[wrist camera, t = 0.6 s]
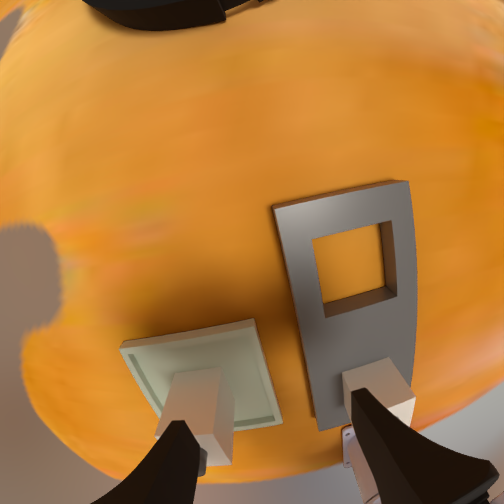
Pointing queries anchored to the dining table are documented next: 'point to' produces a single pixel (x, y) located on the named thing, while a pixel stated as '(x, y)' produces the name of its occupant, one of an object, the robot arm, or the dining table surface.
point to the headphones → (164, 12)
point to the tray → (204, 357)
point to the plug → (203, 413)
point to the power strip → (355, 301)
